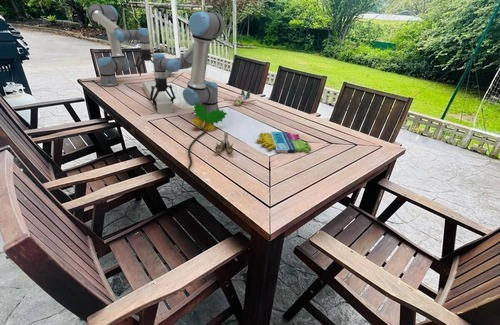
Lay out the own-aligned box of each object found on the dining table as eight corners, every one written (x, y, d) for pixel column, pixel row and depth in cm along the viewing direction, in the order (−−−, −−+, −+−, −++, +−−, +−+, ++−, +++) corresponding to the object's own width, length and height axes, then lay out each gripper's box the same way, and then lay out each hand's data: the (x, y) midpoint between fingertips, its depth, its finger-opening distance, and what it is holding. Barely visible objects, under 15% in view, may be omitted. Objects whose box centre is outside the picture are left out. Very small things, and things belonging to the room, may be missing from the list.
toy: (261, 91, 228) (254, 99, 202) (261, 99, 231) (253, 108, 205) (231, 87, 233) (220, 95, 207) (230, 95, 236) (219, 104, 210)
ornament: (218, 133, 171) (224, 110, 169) (221, 134, 163) (227, 111, 161) (186, 125, 162) (192, 101, 160) (189, 126, 155) (195, 101, 153)
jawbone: (234, 135, 144) (233, 125, 135) (233, 160, 138) (232, 151, 129) (217, 135, 144) (216, 125, 135) (216, 160, 138) (214, 150, 129)
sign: (313, 150, 142) (258, 149, 139) (312, 153, 143) (258, 152, 140) (301, 132, 164) (254, 130, 161) (301, 134, 165) (254, 133, 162)
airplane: (147, 74, 291) (145, 64, 286) (175, 72, 304) (174, 63, 299) (153, 82, 263) (151, 72, 257) (184, 80, 276) (183, 70, 271)
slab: (173, 112, 187) (172, 102, 184) (158, 113, 183) (157, 104, 179) (155, 87, 242) (154, 80, 239) (143, 88, 238) (142, 80, 234)
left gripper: (160, 48, 226) (162, 73, 236) (128, 48, 215) (132, 74, 225) (161, 49, 220) (164, 75, 230) (129, 49, 209) (133, 76, 220)
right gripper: (176, 76, 187) (178, 106, 198) (142, 77, 177) (146, 108, 188) (178, 78, 182) (180, 109, 192) (144, 79, 172) (148, 112, 182)
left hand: (148, 75), depth 228 cm, fingers open, 13 cm apart
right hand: (163, 108), depth 190 cm, fingers closed on slab, 10 cm apart
